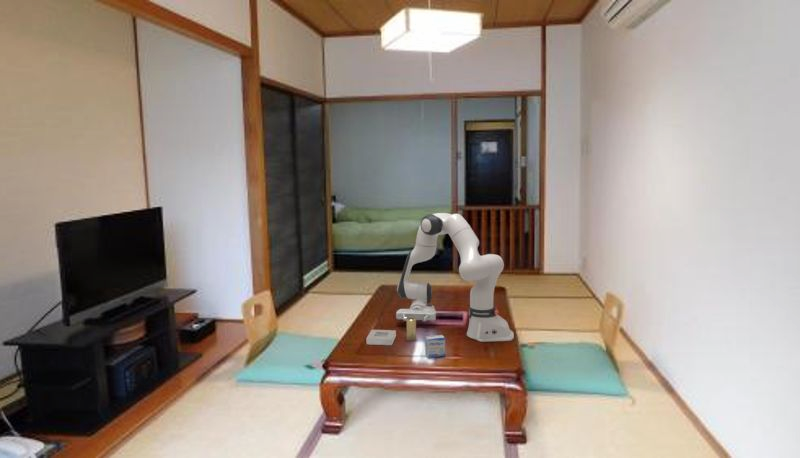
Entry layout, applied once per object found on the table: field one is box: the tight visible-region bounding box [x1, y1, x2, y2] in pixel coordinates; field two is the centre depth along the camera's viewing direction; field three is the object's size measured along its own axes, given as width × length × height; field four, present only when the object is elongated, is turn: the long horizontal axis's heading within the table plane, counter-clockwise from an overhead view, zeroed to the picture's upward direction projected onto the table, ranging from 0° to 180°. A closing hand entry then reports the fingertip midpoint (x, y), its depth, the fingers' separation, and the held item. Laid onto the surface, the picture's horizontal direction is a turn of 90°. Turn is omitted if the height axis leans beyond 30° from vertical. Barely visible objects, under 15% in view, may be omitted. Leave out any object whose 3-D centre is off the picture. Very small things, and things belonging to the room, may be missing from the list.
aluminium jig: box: [365, 329, 397, 346], centre depth 261 cm, size 12×12×3 cm
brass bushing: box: [406, 318, 417, 342], centre depth 262 cm, size 4×4×10 cm
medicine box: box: [424, 334, 446, 359], centre depth 241 cm, size 8×4×9 cm, turn 105°
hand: (414, 319), depth 273 cm, fingers open, 8 cm apart
